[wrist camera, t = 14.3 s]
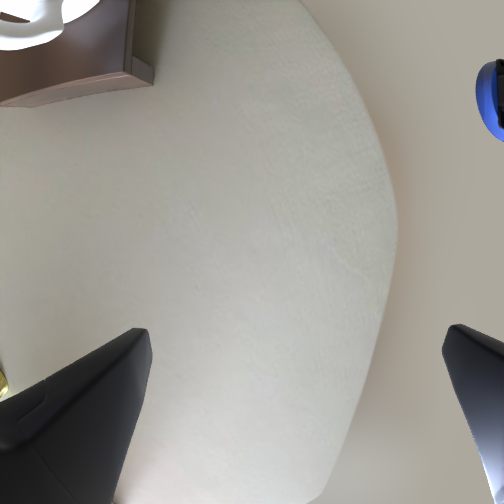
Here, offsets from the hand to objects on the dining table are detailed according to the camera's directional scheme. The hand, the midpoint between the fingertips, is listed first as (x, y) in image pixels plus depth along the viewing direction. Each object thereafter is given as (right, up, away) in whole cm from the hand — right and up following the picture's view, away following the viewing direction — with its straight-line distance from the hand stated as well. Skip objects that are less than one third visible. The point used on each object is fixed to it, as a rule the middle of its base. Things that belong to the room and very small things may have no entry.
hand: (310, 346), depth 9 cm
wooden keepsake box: (-13, +18, +8) cm, 23 cm away
